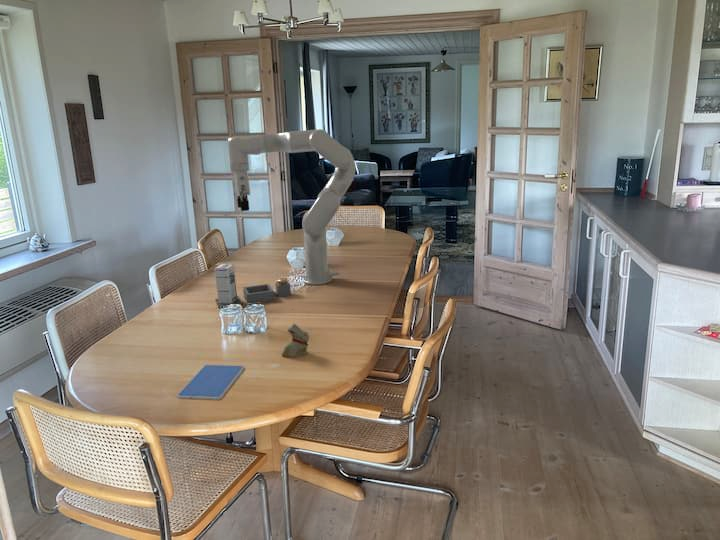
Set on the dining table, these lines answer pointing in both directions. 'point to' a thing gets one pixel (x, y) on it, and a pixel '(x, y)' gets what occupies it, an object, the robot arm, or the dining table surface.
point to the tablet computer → (211, 382)
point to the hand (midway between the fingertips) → (243, 208)
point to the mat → (228, 303)
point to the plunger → (282, 280)
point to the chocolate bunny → (296, 343)
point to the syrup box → (225, 283)
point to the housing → (265, 292)
